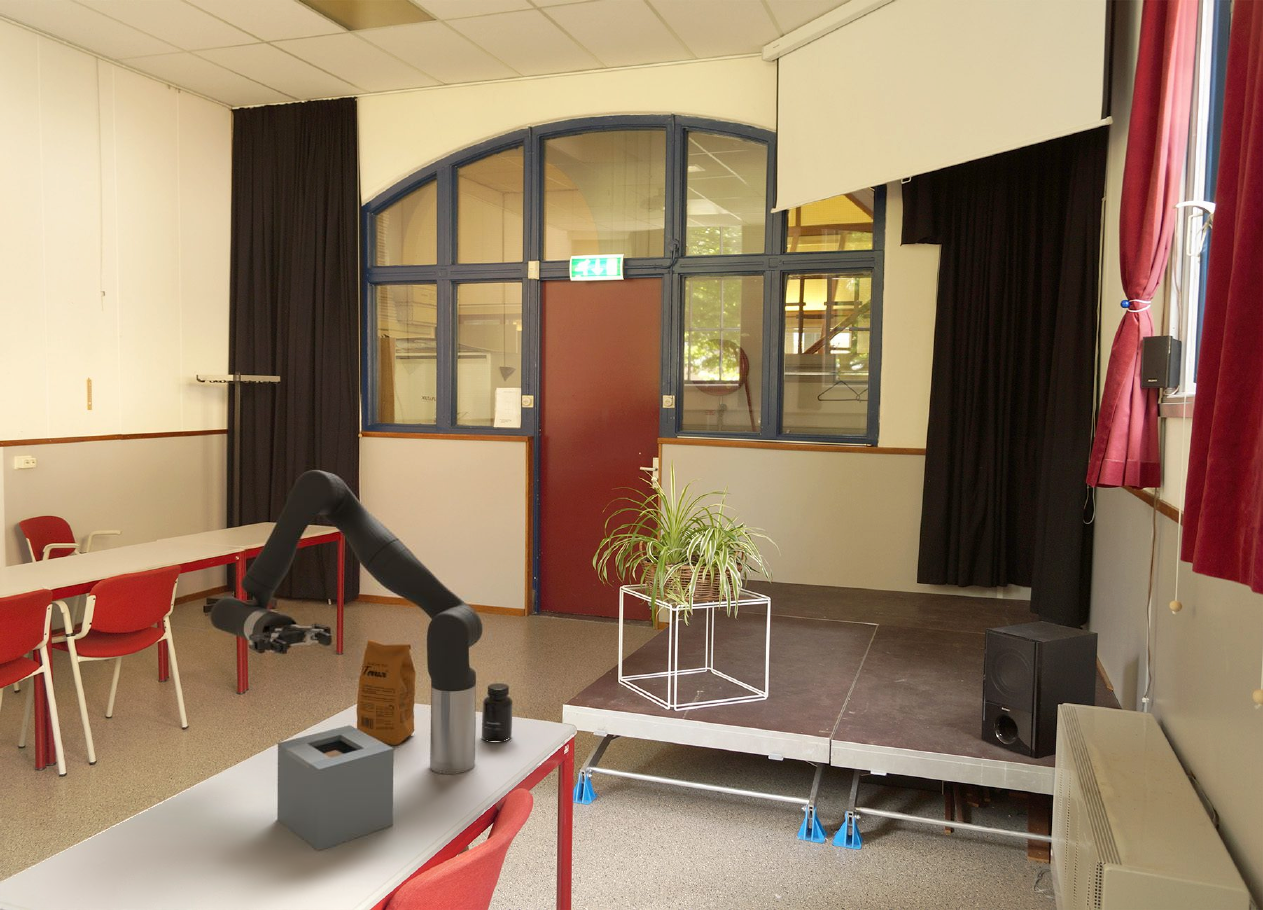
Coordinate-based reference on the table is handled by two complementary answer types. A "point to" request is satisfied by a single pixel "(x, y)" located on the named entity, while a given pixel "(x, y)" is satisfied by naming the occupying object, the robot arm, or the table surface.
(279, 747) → the grey box with opening
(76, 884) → the table surface
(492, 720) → the supplement bottle
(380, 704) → the coffee package
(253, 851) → the table surface
